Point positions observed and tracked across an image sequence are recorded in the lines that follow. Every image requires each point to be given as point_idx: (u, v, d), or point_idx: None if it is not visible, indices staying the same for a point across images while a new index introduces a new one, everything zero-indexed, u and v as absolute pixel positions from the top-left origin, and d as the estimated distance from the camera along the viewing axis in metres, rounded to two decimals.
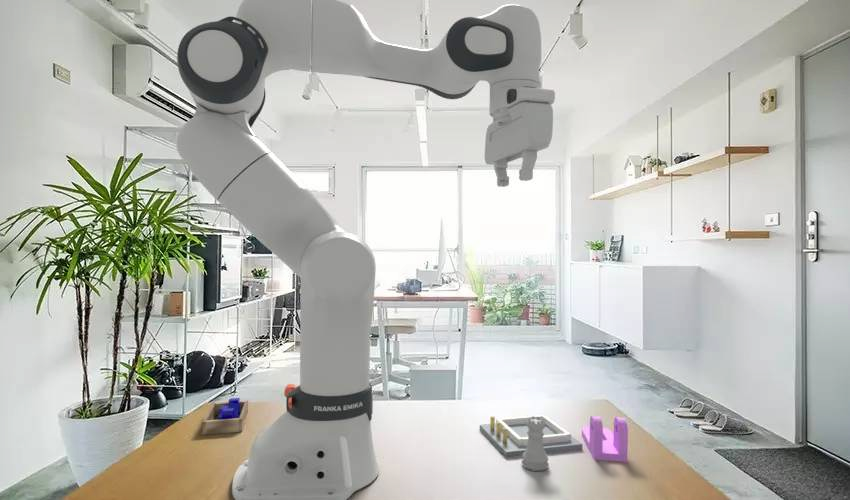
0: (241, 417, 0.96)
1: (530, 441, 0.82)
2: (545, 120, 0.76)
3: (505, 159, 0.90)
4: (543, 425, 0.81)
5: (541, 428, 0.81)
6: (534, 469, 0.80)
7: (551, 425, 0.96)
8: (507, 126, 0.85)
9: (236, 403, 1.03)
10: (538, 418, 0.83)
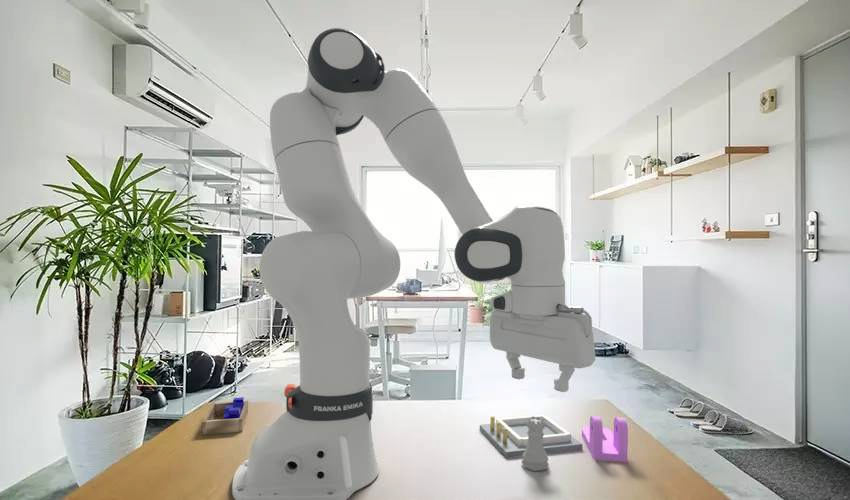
0: (241, 417, 0.96)
1: (530, 441, 0.82)
2: None
3: None
4: (543, 425, 0.81)
5: (541, 428, 0.81)
6: (534, 469, 0.80)
7: (551, 425, 0.96)
8: None
9: (240, 402, 1.03)
10: (538, 418, 0.83)
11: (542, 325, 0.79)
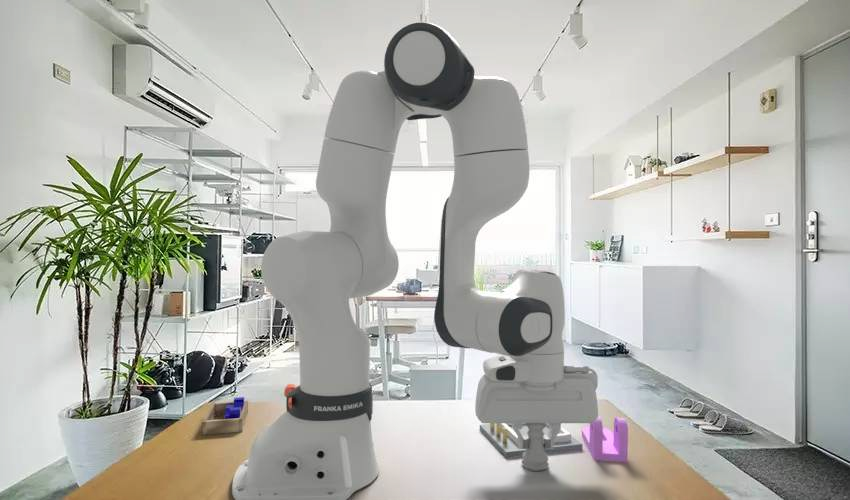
0: (241, 417, 0.96)
1: (530, 441, 0.82)
2: (478, 397, 0.81)
3: None
4: (543, 425, 0.81)
5: (541, 428, 0.81)
6: (534, 469, 0.80)
7: None
8: None
9: (241, 402, 1.03)
10: None
11: (554, 389, 0.80)
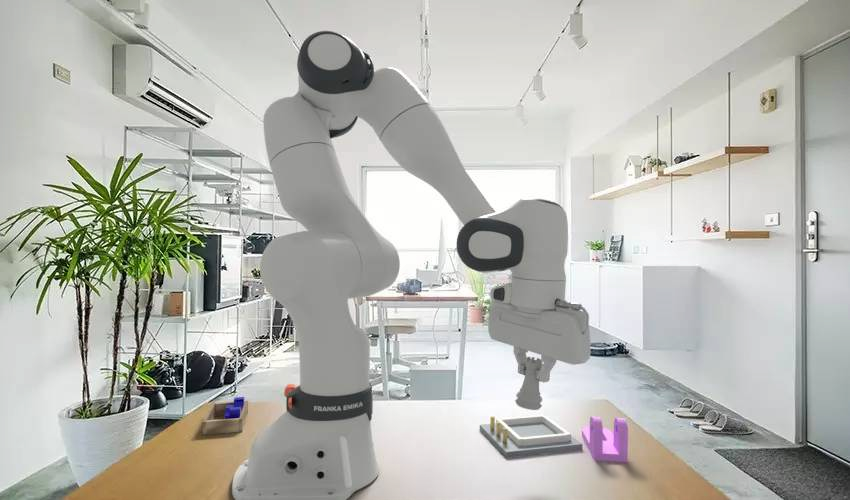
0: (241, 417, 0.96)
1: (524, 378, 0.82)
2: None
3: None
4: (535, 364, 0.80)
5: (530, 366, 0.80)
6: (517, 403, 0.81)
7: (551, 425, 0.96)
8: None
9: (241, 401, 1.03)
10: (540, 360, 0.82)
11: (539, 319, 0.78)
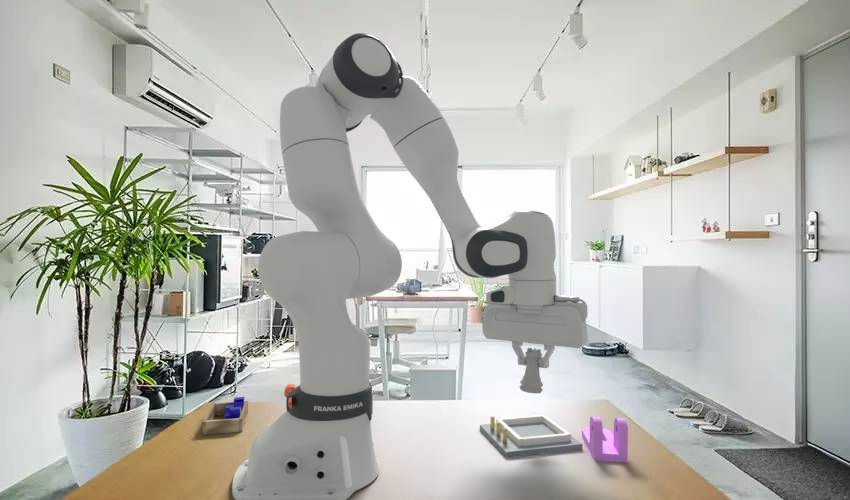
0: (241, 417, 0.96)
1: (526, 367, 0.94)
2: None
3: None
4: (537, 354, 0.93)
5: (534, 355, 0.93)
6: (524, 390, 0.92)
7: (551, 425, 0.96)
8: None
9: (241, 401, 1.04)
10: (538, 350, 0.94)
11: (541, 314, 0.91)
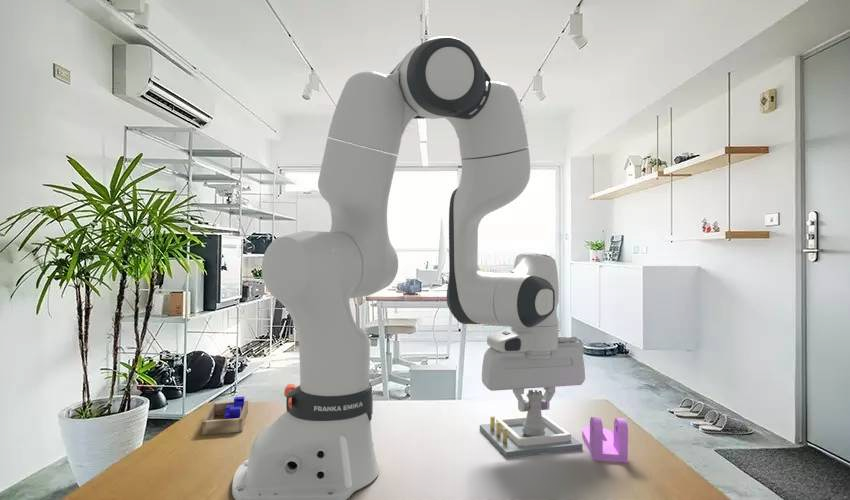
0: (241, 417, 0.96)
1: (530, 410, 0.92)
2: (487, 368, 0.91)
3: None
4: (542, 396, 0.93)
5: (541, 398, 0.92)
6: (535, 435, 0.91)
7: (551, 425, 0.96)
8: None
9: (241, 401, 1.04)
10: (536, 391, 0.94)
11: (550, 357, 0.92)
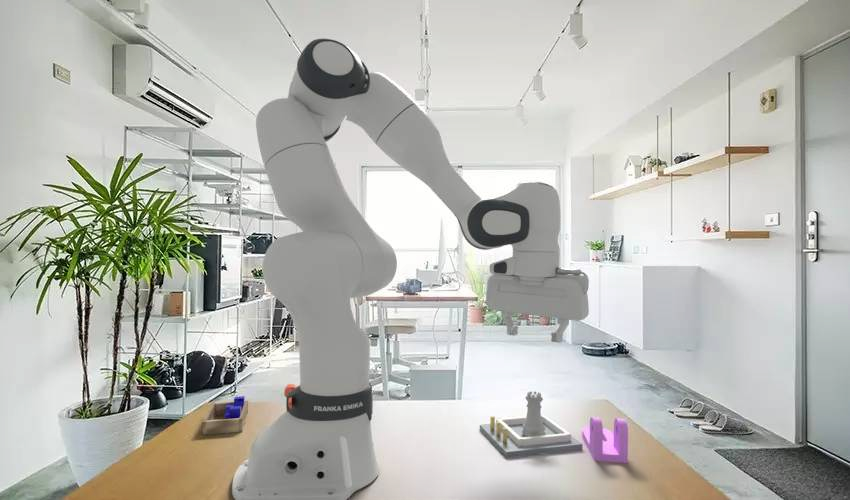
0: (241, 417, 0.96)
1: (530, 413, 0.92)
2: None
3: None
4: (541, 398, 0.92)
5: (540, 401, 0.91)
6: None
7: (551, 425, 0.96)
8: None
9: (241, 401, 1.04)
10: (535, 393, 0.94)
11: (542, 286, 0.91)
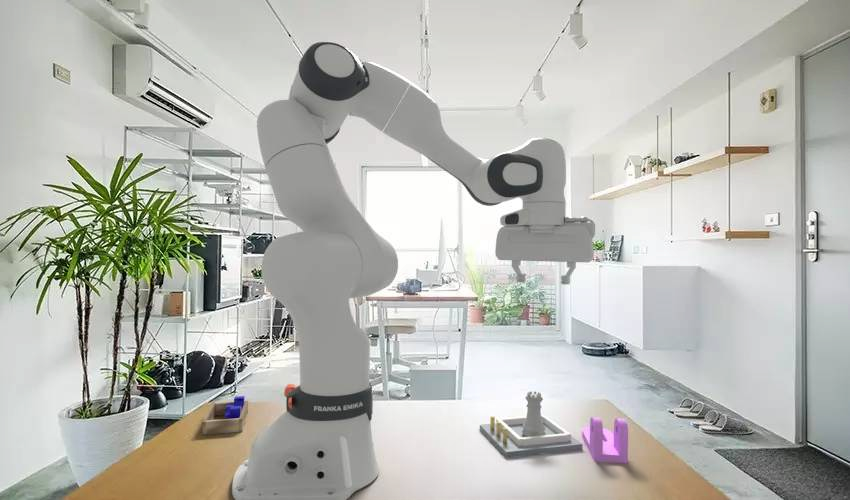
0: (241, 417, 0.96)
1: (530, 413, 0.92)
2: None
3: None
4: (541, 398, 0.92)
5: (540, 401, 0.91)
6: None
7: (551, 425, 0.96)
8: None
9: (241, 401, 1.04)
10: (535, 393, 0.94)
11: (553, 233, 1.00)
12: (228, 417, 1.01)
